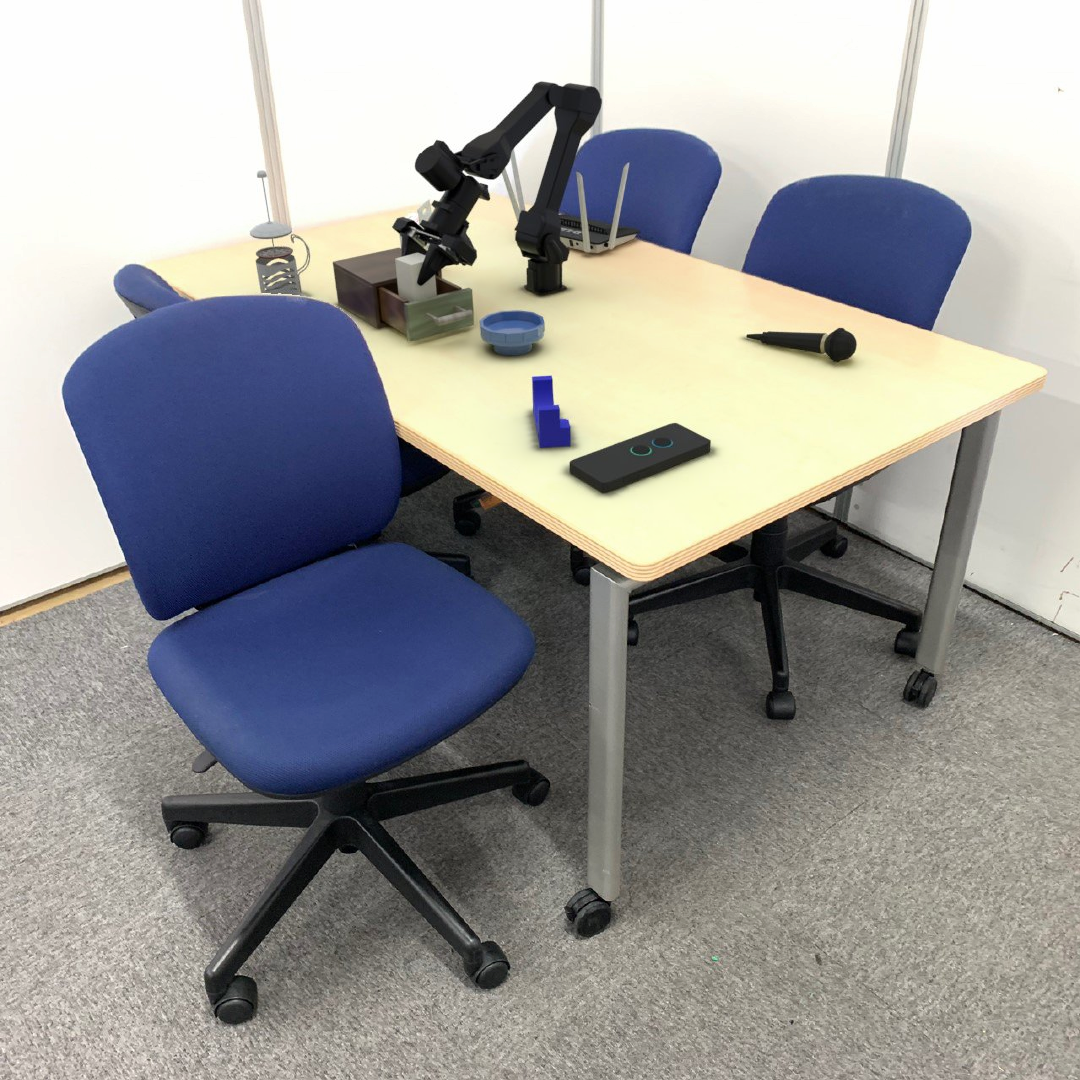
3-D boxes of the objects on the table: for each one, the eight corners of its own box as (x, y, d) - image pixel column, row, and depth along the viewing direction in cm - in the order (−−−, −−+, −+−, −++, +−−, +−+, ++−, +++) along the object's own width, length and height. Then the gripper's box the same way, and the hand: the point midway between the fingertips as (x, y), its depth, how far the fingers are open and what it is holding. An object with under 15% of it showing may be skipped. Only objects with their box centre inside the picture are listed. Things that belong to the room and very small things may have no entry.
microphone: (742, 358, 183) (850, 370, 171) (737, 331, 179) (846, 342, 167) (756, 340, 185) (863, 351, 173) (751, 313, 182) (859, 322, 170)
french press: (253, 295, 208) (230, 168, 194) (309, 287, 211) (291, 161, 198) (261, 311, 200) (238, 179, 187) (320, 301, 204) (302, 171, 190)
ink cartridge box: (414, 266, 221) (408, 197, 213) (437, 267, 220) (431, 198, 213) (402, 279, 214) (395, 208, 206) (425, 280, 213) (419, 209, 206)
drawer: (489, 333, 185) (487, 296, 181) (425, 350, 179) (421, 313, 175) (432, 302, 199) (429, 268, 196) (370, 317, 193) (366, 282, 189)
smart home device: (713, 440, 146) (604, 483, 136) (713, 451, 147) (604, 494, 137) (674, 420, 152) (566, 460, 142) (673, 431, 152) (566, 471, 143)
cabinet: (444, 311, 198) (441, 267, 193) (377, 328, 191) (372, 283, 186) (403, 289, 209) (399, 247, 205) (338, 304, 202) (332, 261, 198)
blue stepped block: (570, 446, 149) (570, 408, 146) (539, 447, 149) (538, 410, 146) (561, 410, 159) (561, 374, 156) (533, 412, 159) (532, 376, 156)
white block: (420, 290, 190) (417, 252, 186) (437, 297, 187) (434, 258, 183) (398, 297, 187) (394, 258, 183) (414, 304, 184) (411, 264, 180)
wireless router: (661, 243, 232) (665, 151, 221) (598, 269, 217) (599, 171, 206) (547, 219, 250) (546, 133, 240) (483, 241, 236) (478, 151, 225)
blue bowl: (521, 331, 188) (520, 305, 185) (557, 349, 180) (556, 323, 177) (469, 346, 182) (467, 319, 180) (504, 365, 175) (502, 338, 172)
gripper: (513, 242, 185) (469, 316, 185) (450, 222, 197) (408, 291, 196) (477, 206, 176) (430, 284, 176) (413, 187, 188) (369, 260, 188)
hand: (410, 281), depth 184 cm, fingers closed on white block, 5 cm apart
